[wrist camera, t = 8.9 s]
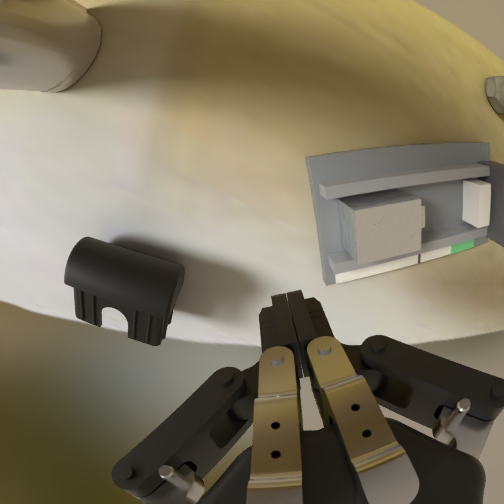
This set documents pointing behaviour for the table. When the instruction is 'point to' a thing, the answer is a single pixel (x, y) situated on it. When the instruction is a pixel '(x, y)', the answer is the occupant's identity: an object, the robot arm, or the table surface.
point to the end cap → (124, 287)
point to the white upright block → (476, 202)
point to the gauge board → (410, 181)
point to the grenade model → (496, 92)
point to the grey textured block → (381, 225)
